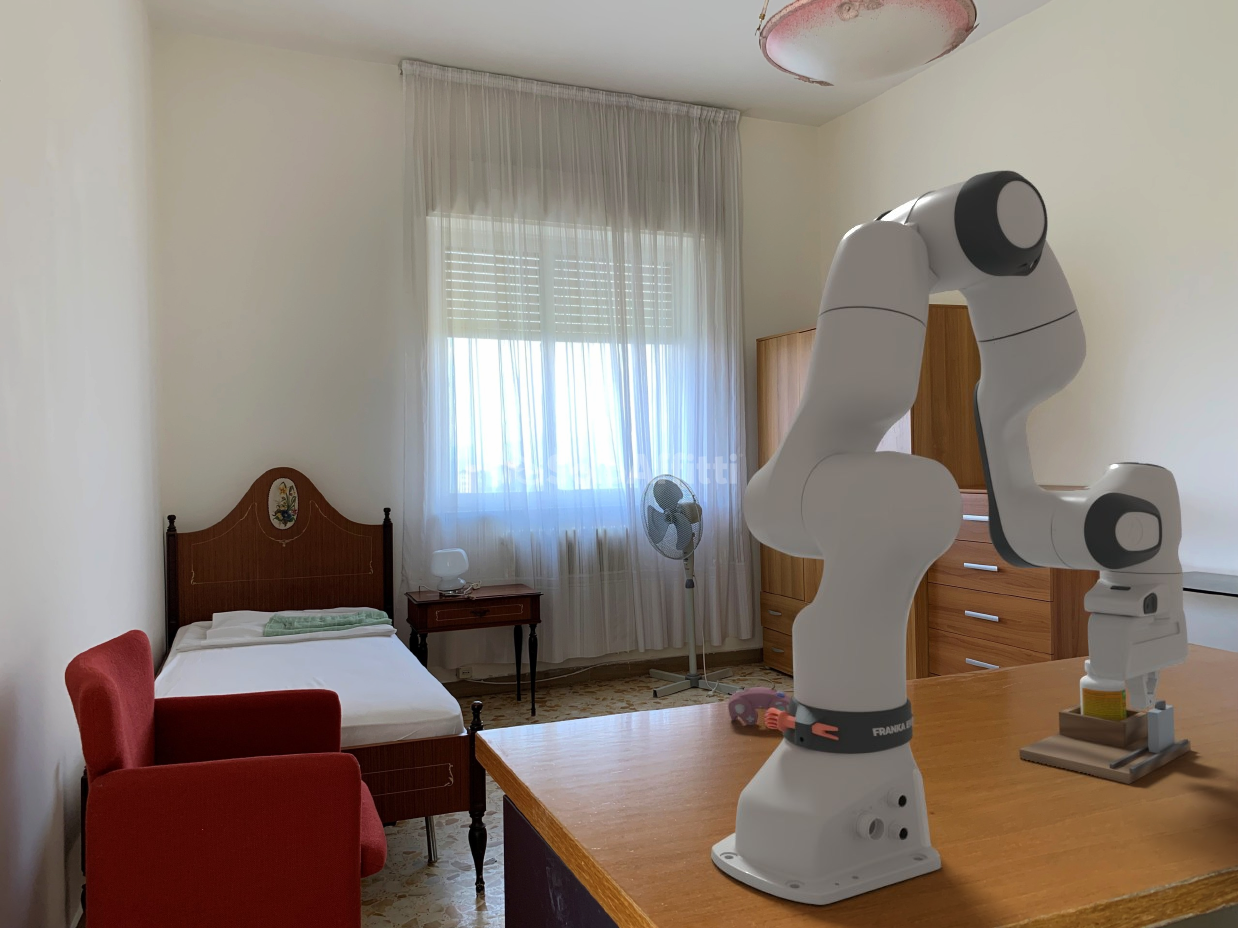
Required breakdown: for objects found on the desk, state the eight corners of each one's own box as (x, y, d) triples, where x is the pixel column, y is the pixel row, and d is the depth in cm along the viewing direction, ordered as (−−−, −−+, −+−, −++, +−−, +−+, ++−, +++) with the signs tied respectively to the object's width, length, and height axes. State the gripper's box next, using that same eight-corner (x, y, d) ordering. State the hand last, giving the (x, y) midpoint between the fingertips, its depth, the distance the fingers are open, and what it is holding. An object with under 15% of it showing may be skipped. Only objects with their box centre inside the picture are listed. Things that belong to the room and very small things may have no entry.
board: (1131, 784, 102) (1130, 748, 103) (1019, 758, 113) (1018, 725, 113) (1193, 750, 114) (1191, 717, 114) (1086, 729, 125) (1085, 699, 125)
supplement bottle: (1133, 741, 115) (1130, 666, 115) (1088, 739, 116) (1085, 665, 116) (1119, 729, 120) (1116, 658, 120) (1076, 728, 121) (1073, 657, 121)
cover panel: (1159, 753, 109) (1157, 704, 109) (1148, 751, 110) (1146, 703, 110) (1174, 745, 112) (1173, 697, 113) (1164, 743, 113) (1162, 696, 113)
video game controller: (728, 734, 132) (725, 697, 129) (730, 713, 136) (727, 677, 133) (795, 736, 130) (794, 699, 127) (795, 715, 134) (794, 678, 131)
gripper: (1147, 587, 118) (1149, 691, 117) (1076, 597, 105) (1078, 714, 105) (1201, 591, 113) (1203, 700, 112) (1134, 602, 100) (1136, 725, 100)
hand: (1142, 707), depth 108 cm, fingers closed
